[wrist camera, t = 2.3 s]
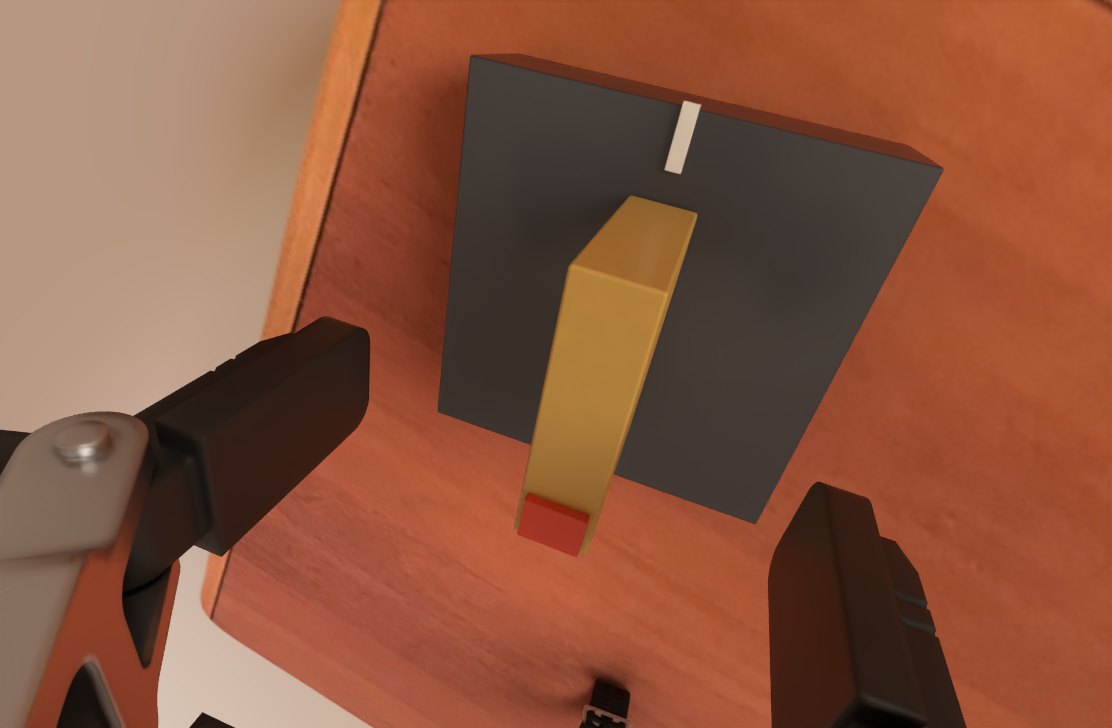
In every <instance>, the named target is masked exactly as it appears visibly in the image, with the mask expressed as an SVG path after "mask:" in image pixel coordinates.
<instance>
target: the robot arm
mask: <svg viewBox="0 0 1112 728" xmlns="http://www.w3.org/2000/svg"><path fill="white" fill-rule="evenodd" d="M369 370H370V338H369V334H368V332H367V330H365V329H364V328H361V327H358V326H355V325H352V324H349V323H346V322H343V321H340V320H337V319H334V318H331V317H327V316H325V317H321V318H319V319H317V320H316V321H314V322H313V323H311V324H309V325H308V326H306V327H304V328H303V329H301V330H300V331H298V332H296V333H295V334H293V333H288V334H284V335H281V336H277V337H274V338H270V339H267V340H263V341H260V342H258V343H257V344H255V345H253V346H252V347H250V348H248V349H247V350H245V351H243V352H241V353H240V354H238V355H236V358H235V359H229V360H228V361H226V362H224V363H223V364H221V365H219V366H218V367H216V370H215V371H214V372H213V371H209V372H207V373H206V374H204V375H203V376H201V377H199V378H197V379H196V380H194V381H192V382H190V383H189V384H187V385H185V386H184V387H182V388H180V389H178V390H177V391H175V392H173V393H172V394H170V395H168V396H167V397H165V398H163V399H162V400H160V401H158V402H156V403H155V404H153V405H151V406H150V407H148V408H146V409H145V410H143V411H141V412H139V413H138V414H136V415H134V416H131V415H128V414H124V413H118V412H90V413H83V414H78V415H73V416H69V417H66V418H63V419H60V420H57V421H54V422H52V423H49V424H47V425H45V426H43V427H41V428H40V429H38V430H36V431H34V432H33V433H26V432H17V431H7V430H0V728H158V708H157V691H158V682H159V676H160V671H161V665H162V660H163V655H164V650H165V645H166V640H167V635H168V630H169V625H170V619H171V615H172V610H173V605H174V600H175V595H176V590H177V585H178V580H179V575H180V562H179V557H181V556H182V555H183V554H184V553H185V552H186V551H187V550H188V549H190V548H191V547H192V546H193V545H195V546H197V547H199V548H202V549H204V550H207V551H209V552H211V553H214V554H216V555H218V556H221V557H222V556H223V555H224V554H225V553H226V552H227V551H228V550H229V549H230V548H231V547H232V546H233V545H234V544H236V543H237V542H238V541H239V540H240V539H241V538H242V537H243V536H244V535H245V534H246V533H247V532H248V531H249V530H250V529H251V528H252V527H253V526H254V525H256V524H257V523H258V522H259V521H260V520H261V519H262V518H263V517H264V516H265V515H266V514H267V513H268V512H269V511H270V510H271V509H272V508H273V507H274V506H276V505H277V504H278V503H279V502H280V501H281V500H282V499H283V498H284V497H285V496H286V495H287V494H288V493H289V492H290V491H291V490H292V489H293V488H294V487H296V486H297V485H298V484H299V483H300V482H301V481H302V480H303V479H304V478H305V477H306V476H307V475H308V474H309V473H310V472H311V471H312V470H313V469H314V468H316V467H317V466H318V465H319V464H320V463H321V462H322V461H323V460H324V459H325V458H326V457H327V456H328V455H329V454H330V453H331V452H332V451H333V450H334V449H336V448H337V447H338V446H339V445H340V444H341V443H342V442H343V441H344V440H345V439H346V438H347V437H348V436H349V435H350V434H351V433H352V432H353V431H354V430H355V429H356V428H357V427H358V426H359V424H360V423H361V421H362V419H363V417H364V415H365V413H366V410H367V406H368V402H369ZM768 601H769V639H770V677H771V715H772V728H966V724H965V721H964V718H963V715H962V712H961V708H960V705H959V702H958V699H957V696H956V692H955V689H954V686H953V683H952V680H951V677H950V673H949V670H948V667H947V664H946V661H945V657H944V654H943V651H942V648H941V645H940V641H939V638H938V637H935V631H936V629H935V626H934V622H933V619H932V616H931V613H930V610H927V604H928V603H927V600H926V597H925V594H924V590H923V587H922V584H921V581H920V578H919V575H918V572H917V571H916V569H915V568H914V567H913V565H912V564H911V562H910V561H909V560H908V558H907V557H906V555H905V554H904V553H903V551H902V550H901V549H900V547H899V546H898V544H897V543H896V542H895V541H892V540H890V539H887V538H884V537H881V536H880V535H879V531H878V527H877V523H876V519H875V516H874V512H873V508H872V504H871V502H870V500H869V499H868V498H866V497H863V496H860V495H857V494H854V493H851V492H848V491H845V490H842V489H839V488H836V487H833V486H830V485H827V484H824V483H821V482H816V483H815V484H814V485H813V486H812V487H811V488H810V489H809V491H808V493H807V494H806V496H805V498H804V500H803V501H802V503H801V505H800V507H799V508H798V510H797V512H796V514H795V515H794V517H793V519H792V521H791V522H790V524H789V526H788V528H787V529H786V531H785V533H784V534H783V536H782V538H781V540H780V541H779V543H778V545H777V547H776V549H775V552H774V555H773V558H772V561H771V565H770V570H769V576H768ZM190 728H234V727H232V726H230V725H228V724H226V723H224V722H222V721H220V720H218V719H215V718H213V717H211V716H209V715H207V714H205V713H201V715H200V716H199V717H198V718H197V719H196V721H195V722H194V723H193V724H192V725H191V726H190Z"/></svg>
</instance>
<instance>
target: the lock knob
mask: <svg viewBox="0 0 1112 728" xmlns="http://www.w3.org/2000/svg"><path fill="white" fill-rule="evenodd" d="M696 220H697V214H696V213H695V212H692V211H688V210H684V209H681V208H677V207H673V206H669V205H666V204H662V203H658V202H655V201H651V200H647V199H643V198H640V197H636V196H629V197H628V198H627V199H626V200H625V202H624V203H623V204H622V205H621V206H620V207H619V208H618V210H617V211H616V212H615V213H614V214H613V215H612V217H611V218H610V219H609V220H608V221H607V222H606V223H605V225H604V226H603V227H602V228H601V229H600V230H599V231H598V233H597V234H596V235H595V236H594V237H593V238H592V239H591V241H590V242H589V243H588V244H587V245H586V246H585V247H584V249H583V250H582V251H581V252H580V253H579V254H578V256H577V257H576V258H575V259H574V260H573V261H572V262H571V264H570V265H569V266H568V271H567V275H566V280H565V285H564V290H563V294H562V299H561V304H560V309H559V314H558V318H557V323H556V328H555V333H554V337H553V342H552V347H551V352H550V357H549V361H548V366H547V371H546V376H545V381H544V385H543V390H542V395H541V400H540V404H539V409H538V414H537V419H536V424H535V428H534V433H533V438H532V443H531V448H530V452H529V457H528V462H527V467H526V471H525V476H524V481H523V486H522V491H521V495H520V500H519V505H518V510H517V515H516V519H515V524H514V529H515V530H517V534H518V535H520V536H522V537H525V538H528V539H530V540H533V541H536V542H538V543H541V544H543V545H546V546H549V547H551V548H554V549H556V550H559V551H562V552H564V553H567V554H570V555H572V556H575V557H577V556H578V554H580V555H582V556H585V555H586V554H587V552H588V549H589V546H590V543H591V540H592V537H593V534H594V531H595V528H596V525H597V522H598V519H599V516H600V513H601V510H602V507H603V505H604V502H605V499H606V496H607V493H608V490H609V487H610V484H611V481H612V478H613V475H614V472H615V469H616V466H617V463H618V460H619V457H620V454H621V451H622V449H623V446H624V443H625V440H626V437H627V434H628V431H629V428H630V425H631V422H632V419H633V416H634V413H635V409H636V406H637V403H638V400H639V397H640V394H641V391H642V388H643V385H644V381H645V378H646V375H647V372H648V369H649V366H650V363H651V360H652V357H653V353H654V350H655V347H656V344H657V341H658V338H659V335H660V332H661V329H662V325H663V322H664V319H665V316H666V313H667V310H668V307H669V304H670V300H671V297H672V294H673V291H674V288H675V285H676V282H677V279H678V276H679V272H680V269H681V266H682V263H683V260H684V257H685V254H686V251H687V248H688V244H689V241H690V238H691V235H692V232H693V229H694V226H695V223H696Z"/></svg>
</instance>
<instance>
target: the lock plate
mask: <svg viewBox="0 0 1112 728" xmlns="http://www.w3.org/2000/svg"><path fill="white" fill-rule="evenodd" d="M943 169H944V168H942V167H941V166H939V165H938V164H936V163H935V162H933V161H932V160H930V159H929V158H927V157H926V156H924V155H922V154H921V153H919V152H918V151H916V150H915V149H913V148H912V147H910V146H908V145H904V144H900V143H895V142H891V141H887V140H883V139H878V138H874V137H870V136H866V135H861V134H857V133H853V132H849V131H844V130H840V129H836V128H832V127H827V126H823V125H819V124H815V123H810V122H806V121H802V120H798V119H793V118H789V117H785V116H781V115H776V114H772V113H768V112H764V111H759V110H755V109H751V108H747V107H742V106H738V105H734V104H730V103H726V102H721V101H717V100H713V99H709V98H704V97H700V96H696V95H692V94H687V93H683V92H679V91H675V90H670V89H666V88H662V87H658V86H653V85H649V84H645V83H641V82H636V81H632V80H628V79H624V78H619V77H615V76H611V75H607V74H602V73H598V72H594V71H590V70H585V69H581V68H577V67H573V66H568V65H564V64H560V63H556V62H551V61H547V60H543V59H539V58H535V57H530V56H526V55H522V54H489V55H471V57H470V66H469V77H468V88H467V99H466V110H465V120H464V131H463V142H462V153H461V163H460V174H459V185H458V196H457V207H456V217H455V228H454V239H453V250H452V261H451V271H450V282H449V293H448V304H447V315H446V325H445V336H444V347H443V358H442V368H441V379H440V390H439V401H438V412H439V413H442V414H445V415H448V416H451V417H453V418H456V419H459V420H462V421H465V422H468V423H470V424H473V425H476V426H479V427H482V428H485V429H487V430H490V431H493V432H496V433H499V434H501V435H504V436H507V437H510V438H513V439H516V440H518V441H521V442H524V443H527V444H530V445H531V443H532V438H533V433H534V428H535V424H536V419H537V414H538V409H539V404H540V400H541V395H542V390H543V385H544V381H545V376H546V371H547V366H548V361H549V357H550V352H551V347H552V342H553V337H554V333H555V328H556V323H557V318H558V314H559V309H560V304H561V299H562V294H563V290H564V285H565V280H566V275H567V271H568V266H569V265H570V264H571V262H572V261H573V260H574V259H575V258H576V257H577V256H578V254H579V253H580V252H581V251H582V250H583V249H584V247H585V246H586V245H587V244H588V243H589V242H590V241H591V239H592V238H593V237H594V236H595V235H596V234H597V233H598V231H599V230H600V229H601V228H602V227H603V226H604V225H605V223H606V222H607V221H608V220H609V219H610V218H611V217H612V215H613V214H614V213H615V212H616V211H617V210H618V208H619V207H620V206H621V205H622V204H623V203H624V202H625V200H626V199H627V198H628V197H629V196H636V197H640V198H643V199H647V200H651V201H655V202H658V203H662V204H666V205H669V206H673V207H677V208H681V209H684V210H688V211H692V212H695V213H696V214H697V220H696V223H695V226H694V229H693V232H692V235H691V238H690V241H689V244H688V248H687V251H686V254H685V257H684V260H683V263H682V266H681V269H680V272H679V276H678V279H677V282H676V285H675V288H674V291H673V294H672V297H671V300H670V304H669V307H668V310H667V313H666V316H665V319H664V322H663V325H662V329H661V332H660V335H659V338H658V341H657V344H656V347H655V350H654V353H653V357H652V360H651V363H650V366H649V369H648V372H647V375H646V378H645V381H644V385H643V388H642V391H641V394H640V397H639V400H638V403H637V406H636V409H635V413H634V416H633V419H632V422H631V425H630V428H629V431H628V434H627V437H626V440H625V443H624V446H623V449H622V451H621V454H620V457H619V460H618V463H617V466H616V469H615V472H614V474H615V475H617V476H620V477H623V478H626V479H629V480H631V481H634V482H637V483H640V484H643V485H646V486H648V487H651V488H654V489H657V490H660V491H663V492H665V493H668V494H671V495H674V496H677V497H680V498H682V499H685V500H688V501H691V502H694V503H697V504H699V505H702V506H705V507H708V508H711V509H713V510H716V511H719V512H722V513H725V514H728V515H730V516H733V517H736V518H739V519H742V520H745V521H747V522H750V523H753V524H756V523H757V521H758V519H759V517H760V515H761V514H762V512H763V510H764V508H765V506H766V504H767V502H768V500H769V499H770V497H771V495H772V493H773V491H774V489H775V487H776V485H777V483H778V482H779V480H780V478H781V476H782V474H783V472H784V470H785V468H786V466H787V465H788V463H789V461H790V459H791V457H792V455H793V453H794V451H795V450H796V448H797V446H798V444H799V442H800V440H801V438H802V436H803V434H804V433H805V431H806V429H807V427H808V425H809V423H810V421H811V419H812V417H813V416H814V414H815V412H816V410H817V408H818V406H819V404H820V402H821V400H822V399H823V397H824V395H825V393H826V391H827V389H828V387H829V385H830V384H831V382H832V380H833V378H834V376H835V374H836V372H837V370H838V368H839V367H840V365H841V363H842V361H843V359H844V357H845V355H846V353H847V351H848V350H849V348H850V346H851V344H852V342H853V340H854V338H855V336H856V334H857V333H858V331H859V329H860V327H861V325H862V323H863V321H864V319H865V318H866V316H867V314H868V312H869V310H870V308H871V306H872V304H873V302H874V301H875V299H876V297H877V295H878V293H879V291H880V289H881V287H882V285H883V284H884V282H885V280H886V278H887V276H888V274H889V272H890V270H891V269H892V267H893V265H894V263H895V261H896V259H897V257H898V255H899V253H900V252H901V250H902V248H903V246H904V244H905V242H906V240H907V238H908V236H909V235H910V233H911V231H912V229H913V227H914V225H915V223H916V221H917V219H918V218H919V216H920V214H921V212H922V210H923V208H924V206H925V204H926V203H927V201H928V199H929V197H930V195H931V193H932V191H933V189H934V187H935V186H936V184H937V182H938V180H939V178H940V176H941V174H942V172H943Z"/></svg>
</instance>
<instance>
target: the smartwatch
mask: <svg viewBox="0 0 1112 728" xmlns="http://www.w3.org/2000/svg"><path fill="white" fill-rule="evenodd" d="M629 702H630V692H628V691H626V690H623V689H620V688H617V687H615V686H612V685H609V684H606V683H604V682H601V681H596V683H595V686H594V690H593V694H592V698H591V701H590V705H584V709H583V718H584V719H583V721H582V723H581V725H580V727H579V728H631V722H630V721H629V720H627V713H628V708H629ZM612 720H613V721H612ZM625 724H626V726H625Z"/></svg>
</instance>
